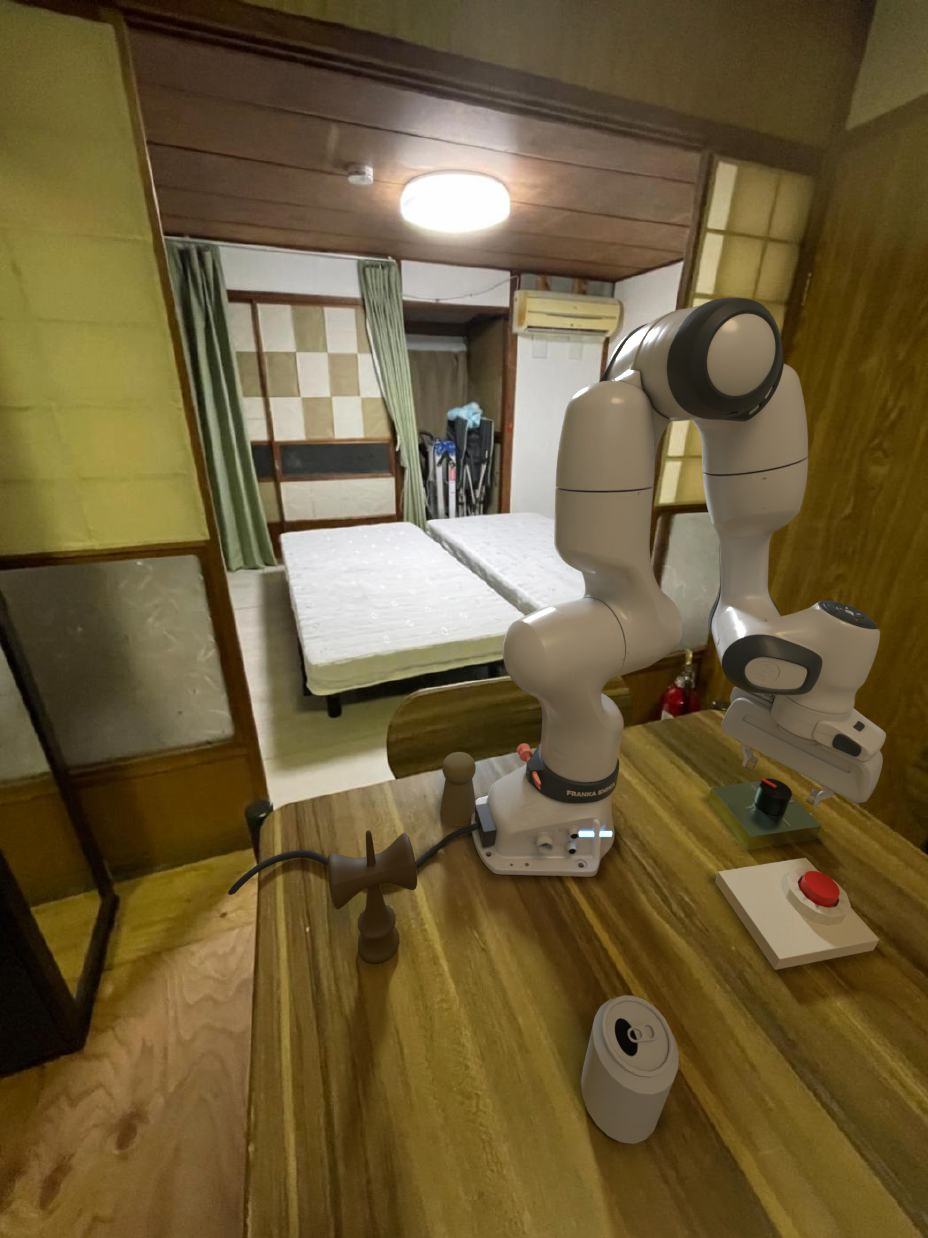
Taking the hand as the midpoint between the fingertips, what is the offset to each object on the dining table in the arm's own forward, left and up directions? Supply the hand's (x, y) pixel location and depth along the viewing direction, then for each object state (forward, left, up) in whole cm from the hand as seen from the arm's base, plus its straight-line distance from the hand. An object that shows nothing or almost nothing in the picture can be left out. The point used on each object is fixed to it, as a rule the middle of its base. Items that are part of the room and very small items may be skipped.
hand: (779, 784), depth 79 cm
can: (-39, -29, -8) cm, 49 cm away
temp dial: (0, 0, -5) cm, 5 cm away
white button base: (-8, -15, -8) cm, 18 cm away
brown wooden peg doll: (-48, +10, -8) cm, 50 cm away
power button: (-5, -15, -4) cm, 16 cm away
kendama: (-62, -10, -8) cm, 63 cm away
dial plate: (-1, 0, -8) cm, 8 cm away
